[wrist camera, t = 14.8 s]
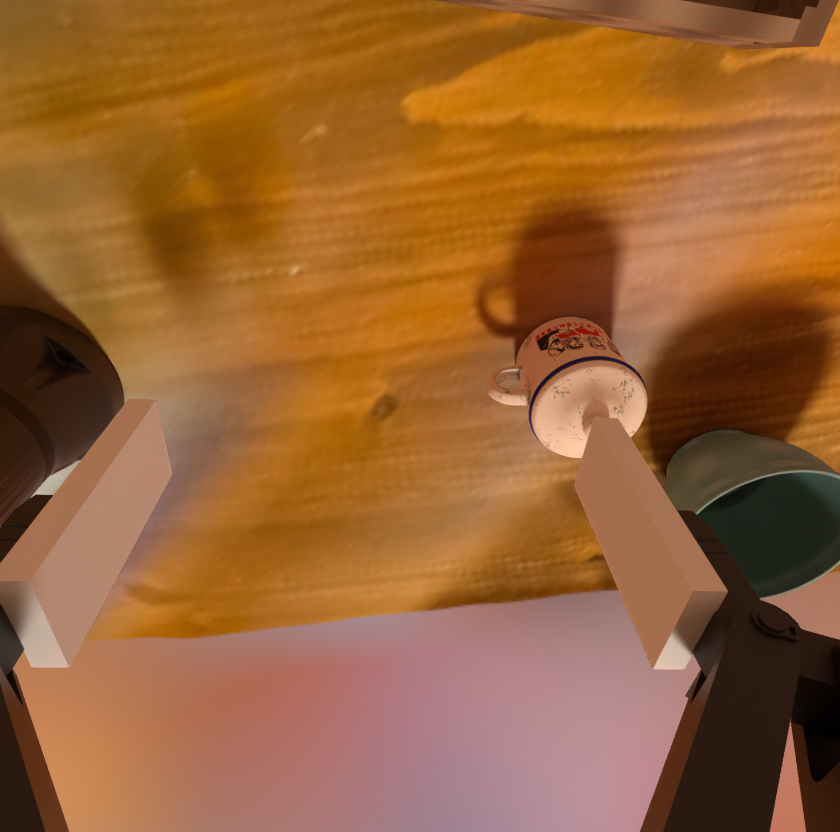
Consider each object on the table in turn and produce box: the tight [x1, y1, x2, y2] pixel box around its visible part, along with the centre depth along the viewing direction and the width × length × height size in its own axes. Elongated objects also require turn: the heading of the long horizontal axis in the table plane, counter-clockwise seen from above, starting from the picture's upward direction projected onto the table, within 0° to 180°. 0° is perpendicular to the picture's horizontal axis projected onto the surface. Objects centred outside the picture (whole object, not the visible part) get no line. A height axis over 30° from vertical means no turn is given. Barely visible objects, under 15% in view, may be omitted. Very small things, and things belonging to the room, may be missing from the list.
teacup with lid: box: [487, 317, 647, 458], centre depth 45 cm, size 12×9×12 cm
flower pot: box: [663, 429, 840, 600], centre depth 52 cm, size 16×16×11 cm
